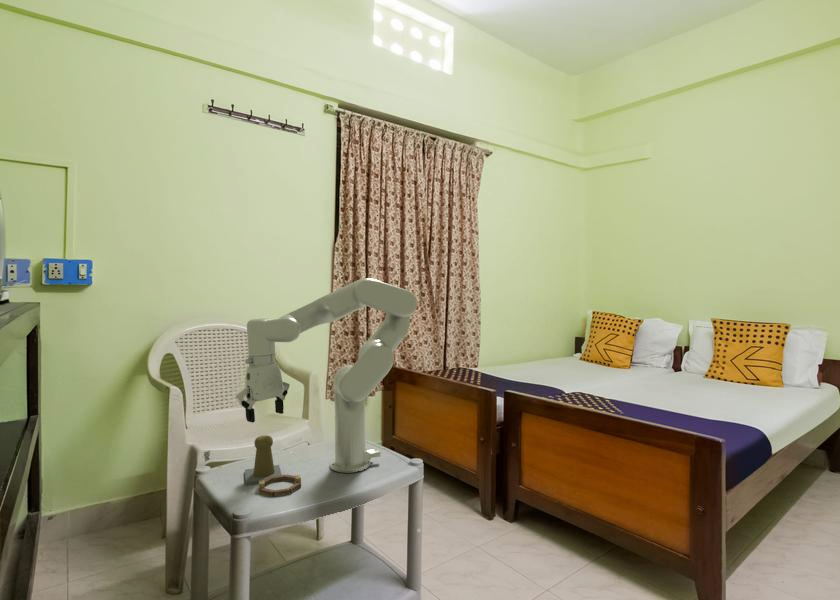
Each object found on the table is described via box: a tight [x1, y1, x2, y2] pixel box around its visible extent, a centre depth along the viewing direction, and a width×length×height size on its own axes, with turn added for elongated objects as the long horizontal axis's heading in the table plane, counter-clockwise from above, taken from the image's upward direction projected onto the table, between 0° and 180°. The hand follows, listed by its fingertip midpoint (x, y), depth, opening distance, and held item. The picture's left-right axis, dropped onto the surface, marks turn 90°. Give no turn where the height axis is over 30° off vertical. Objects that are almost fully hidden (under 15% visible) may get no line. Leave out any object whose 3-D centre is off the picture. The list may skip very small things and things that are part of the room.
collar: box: [258, 474, 302, 498], centre depth 129 cm, size 11×11×2 cm
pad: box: [244, 464, 283, 486], centre depth 137 cm, size 10×10×1 cm
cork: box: [253, 435, 275, 477], centre depth 137 cm, size 6×6×11 cm
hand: (265, 417), depth 136 cm, fingers open, 9 cm apart
